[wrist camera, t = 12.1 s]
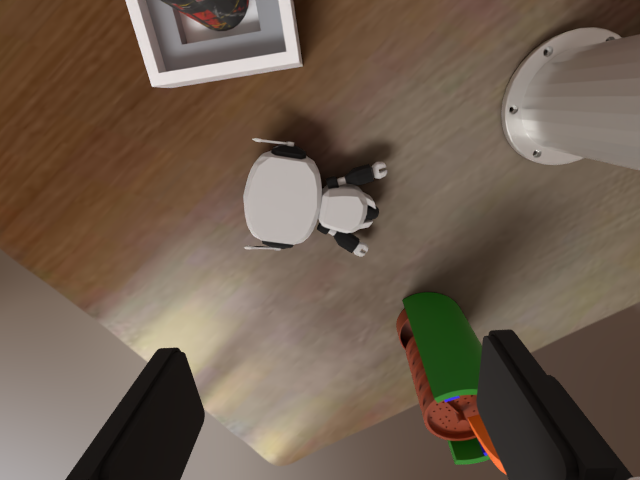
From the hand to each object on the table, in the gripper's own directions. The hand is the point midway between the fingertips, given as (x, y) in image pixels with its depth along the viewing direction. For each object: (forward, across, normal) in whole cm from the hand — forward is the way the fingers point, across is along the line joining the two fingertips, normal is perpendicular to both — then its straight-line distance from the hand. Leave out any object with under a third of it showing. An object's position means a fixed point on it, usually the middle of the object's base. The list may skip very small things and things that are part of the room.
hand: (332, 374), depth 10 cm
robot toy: (+30, +3, +2) cm, 30 cm away
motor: (+30, -11, +21) cm, 38 cm away
